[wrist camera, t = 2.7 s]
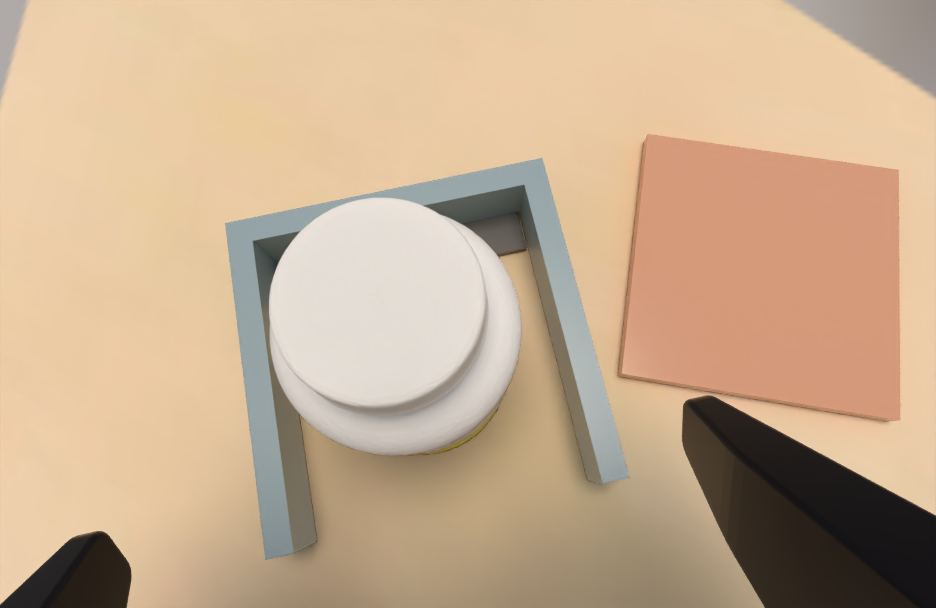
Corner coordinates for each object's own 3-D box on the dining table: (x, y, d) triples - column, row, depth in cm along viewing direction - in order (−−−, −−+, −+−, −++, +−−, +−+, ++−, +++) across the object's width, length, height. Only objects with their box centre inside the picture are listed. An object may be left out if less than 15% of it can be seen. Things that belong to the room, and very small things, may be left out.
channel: (610, 474, 19) (629, 477, 17) (292, 546, 19) (265, 559, 17) (535, 190, 22) (542, 158, 20) (253, 249, 22) (225, 223, 19)
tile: (887, 421, 20) (900, 420, 19) (617, 376, 20) (621, 373, 20) (887, 177, 22) (898, 169, 21) (643, 142, 22) (647, 134, 22)
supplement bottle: (317, 347, 21) (169, 248, 11) (452, 267, 21) (428, 103, 12) (397, 489, 20) (313, 522, 10) (538, 398, 20) (594, 343, 10)
